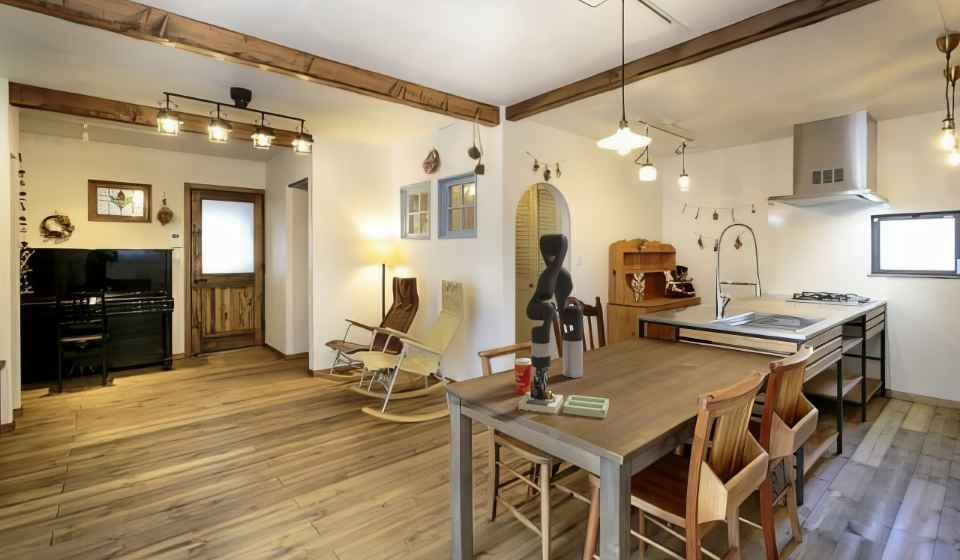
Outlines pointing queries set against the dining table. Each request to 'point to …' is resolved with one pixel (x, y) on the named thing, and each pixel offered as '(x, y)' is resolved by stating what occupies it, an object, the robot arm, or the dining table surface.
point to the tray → (586, 406)
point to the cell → (546, 394)
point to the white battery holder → (541, 403)
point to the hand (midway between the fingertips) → (541, 397)
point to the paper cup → (522, 375)
